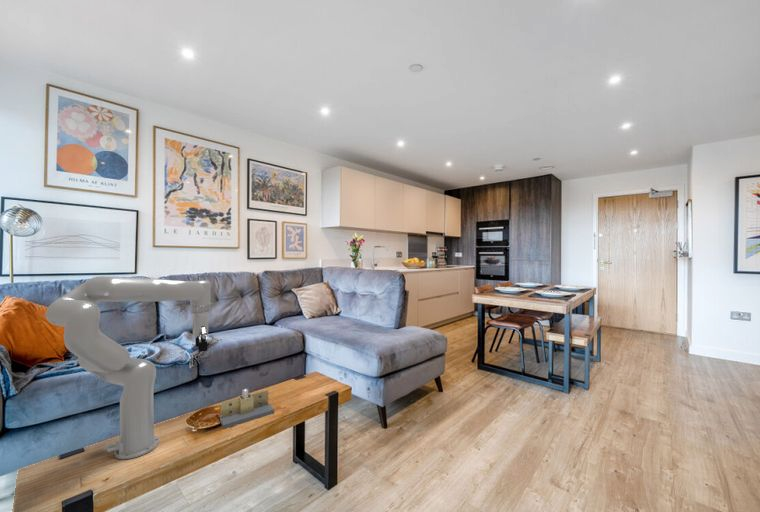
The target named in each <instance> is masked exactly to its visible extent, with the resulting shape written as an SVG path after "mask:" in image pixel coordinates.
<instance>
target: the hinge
mask: <svg viewBox="0 0 760 512" xmlns="http://www.w3.org/2000/svg"><path fill="white" fill-rule="evenodd" d="M268 403H269V390H264V391H259V392H256V393H250V392H248V398H244V399H242V394H241V395H237V397H236V398H233V399H229V400H226V401H222V402H220V410H221V418H223V417H226V416H229V415H233V414H236V413H240V414H245V413H248V412H252V411H254V408H257V407H261V406H264V405H268Z"/></svg>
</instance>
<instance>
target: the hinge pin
mask: <svg viewBox="0 0 760 512" xmlns="http://www.w3.org/2000/svg"><path fill="white" fill-rule="evenodd" d="M241 393H242V394H241V395H242V399H244V398H248V393H249V388H246V387H245V388H243V389H242V390H241Z"/></svg>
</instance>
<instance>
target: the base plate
mask: <svg viewBox="0 0 760 512" xmlns="http://www.w3.org/2000/svg"><path fill="white" fill-rule="evenodd" d="M272 414H275V409H274V407H273V406H272V405H271V404H270V403H269V402H268V405H264V406H261V407H257V408H254V411H252V412H248V413H245V414H240V413H236V414H233V415H229V416H226V417H223V418H221V415H220V416H219V417H220V419H221V422H220V424H221V427H222V429H226V428H230V427H234V426H237V425H240V424H242V423H247V422H250V421H253V420H255V419H259V418H262V417H265V416H269V415H272Z"/></svg>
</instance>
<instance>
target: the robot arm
mask: <svg viewBox="0 0 760 512" xmlns="http://www.w3.org/2000/svg"><path fill="white" fill-rule="evenodd" d="M211 286H212V285H211V282H210V280H202V279H201V280H194V281H192V280H191V281H187V280H186V281H184V280H171V279H170V280H169V279H161V278H150V277H148V278H147V277H131V276H130V277H129V276H100V275H99V276H94V277H92V278H90V279H88V280H86V281H84V282H82V283H80V284H79V285H77V286H76V287H74V288H73V289H71V290H69V292H67V293H65V294H64V295H62V296H60V297H58V298H57V299H56V300H54V301H53V302H52V303H51V304H49V306H48V307H47V309H46V310H45V318H46V320H47V321H48V323H50V324H51V325H53V326H56V327H62V328H64V330H63V343H64V345H65V346H64V347H66V349H67V350H68V351H69V352H70V353H71V354H72V355H74V356H76V357H77V361H78V364H79V366H80V367H81V368H82V369H83V370H85V372H87V373H90V374H92V375H94V376H96V377H98V378H100V379H101V380H103V381H106V382H108V383H110V384H113V385H116V386H122V387H123V390H122V392H121V396H120V399H119V433H120V434H119V436H120V437H119V439H118V440H116V441H115V442H112V443H107V444H104V445H103V448H102V449H103V450H102V452H106V453H107V454H108V453H113V452H114V457H115V458H116V459H118V460H128V459H134V458H138V457H141V456H143V455H146V454H148V453H150V452H152V451H153V450H154V449H156V447H158V446H159V444H160V437H158V436H156V435H155V424H154V423H155V418H154V414H155V413H154V412H155V411H154V409H155V407H154V406H155V405H154V403H155V402H154V392H155V390H154V389H155V382H156V377H157V367H156V365H155V364H154V363H153V362H152V361H150V360H148V359H145V358H138V357H132V356H131V354H130V352H129V350H128V349H127V348H126V347H125V346H123V345H121V344H120V343H118V342H117V341H115V340H113V339H111V338H110V337H108V336H107V335H105V334H104V333H103V332H102V331H101V329H100V328H99V326H100V325H99V323H100V319H101V311H100V308H99V306H98V305H97V304H99V303H100V302H109V303H114V302H117V303H121V302H122V303H123V302H125V303H126V302H129V303H130V302H133V303H134V302H164V301H166V302H167V301H168V302H170V301H190V314H192V315H193V316H192V335H193V336H194V338H195V340H194V341H195V342H194V343H195V347H197V348H198V352H199V353H201V352H202V353H203V352H207V351H208V337H207V336H208V335H209V313H211V312H212V310H211V309H212V308H211V307H212V303H211V301H212V299H211V297H212V296H211Z"/></svg>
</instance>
